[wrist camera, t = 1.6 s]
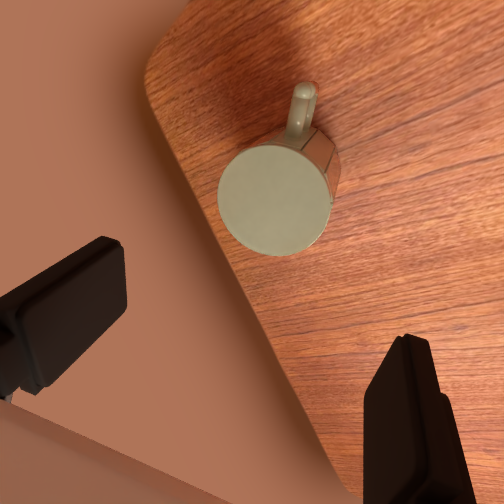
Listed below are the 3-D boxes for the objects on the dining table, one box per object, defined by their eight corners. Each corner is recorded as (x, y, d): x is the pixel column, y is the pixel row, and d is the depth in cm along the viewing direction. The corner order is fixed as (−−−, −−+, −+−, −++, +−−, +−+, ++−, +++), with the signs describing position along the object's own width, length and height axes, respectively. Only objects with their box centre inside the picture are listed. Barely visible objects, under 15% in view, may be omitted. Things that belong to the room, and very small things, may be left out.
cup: (248, 198, 28) (211, 238, 21) (270, 70, 22) (230, 69, 16) (325, 220, 26) (312, 269, 20) (366, 90, 21) (368, 97, 15)
